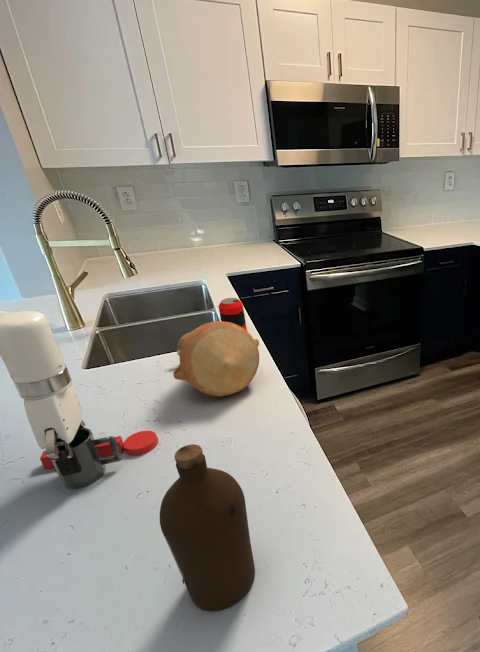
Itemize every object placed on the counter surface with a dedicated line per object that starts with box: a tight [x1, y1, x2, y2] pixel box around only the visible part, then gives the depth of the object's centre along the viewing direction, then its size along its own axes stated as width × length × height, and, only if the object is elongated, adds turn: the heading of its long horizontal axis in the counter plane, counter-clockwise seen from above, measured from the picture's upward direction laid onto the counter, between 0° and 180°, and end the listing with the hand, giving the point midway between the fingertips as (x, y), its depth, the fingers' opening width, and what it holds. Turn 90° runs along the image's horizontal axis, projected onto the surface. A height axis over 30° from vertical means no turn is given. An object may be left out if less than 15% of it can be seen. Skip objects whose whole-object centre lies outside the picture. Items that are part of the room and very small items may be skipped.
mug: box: [52, 427, 123, 490], centre depth 82 cm, size 11×7×9 cm, turn 111°
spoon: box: [39, 430, 159, 470], centre depth 88 cm, size 21×6×3 cm, turn 111°
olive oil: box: [159, 443, 256, 612], centre depth 58 cm, size 11×11×25 cm
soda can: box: [218, 297, 248, 332], centre depth 139 cm, size 8×8×12 cm
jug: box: [172, 320, 260, 397], centre depth 112 cm, size 20×19×30 cm
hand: (77, 458), depth 81 cm, fingers closed on mug, 7 cm apart
